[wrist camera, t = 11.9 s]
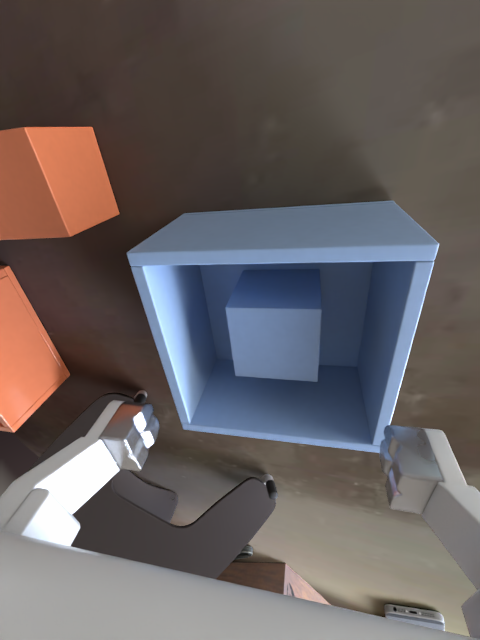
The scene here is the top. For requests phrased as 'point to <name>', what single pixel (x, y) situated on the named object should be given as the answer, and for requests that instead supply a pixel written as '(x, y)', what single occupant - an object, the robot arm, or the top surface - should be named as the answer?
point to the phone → (415, 616)
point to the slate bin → (336, 322)
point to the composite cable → (245, 553)
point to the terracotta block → (52, 183)
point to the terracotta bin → (24, 356)
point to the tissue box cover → (271, 579)
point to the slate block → (276, 324)
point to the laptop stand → (163, 513)
